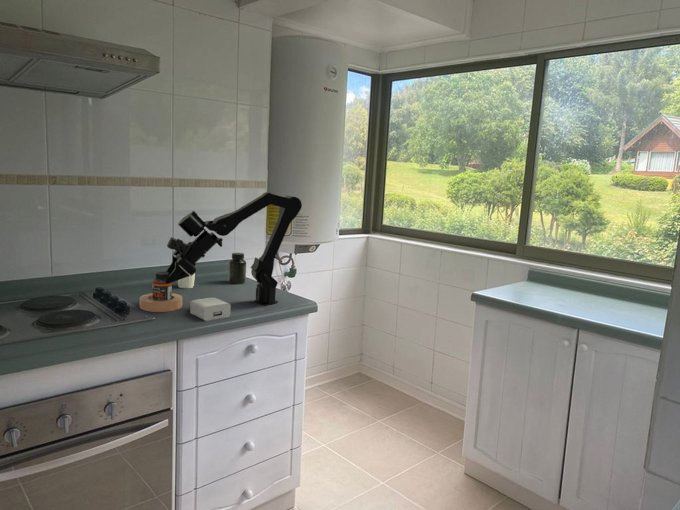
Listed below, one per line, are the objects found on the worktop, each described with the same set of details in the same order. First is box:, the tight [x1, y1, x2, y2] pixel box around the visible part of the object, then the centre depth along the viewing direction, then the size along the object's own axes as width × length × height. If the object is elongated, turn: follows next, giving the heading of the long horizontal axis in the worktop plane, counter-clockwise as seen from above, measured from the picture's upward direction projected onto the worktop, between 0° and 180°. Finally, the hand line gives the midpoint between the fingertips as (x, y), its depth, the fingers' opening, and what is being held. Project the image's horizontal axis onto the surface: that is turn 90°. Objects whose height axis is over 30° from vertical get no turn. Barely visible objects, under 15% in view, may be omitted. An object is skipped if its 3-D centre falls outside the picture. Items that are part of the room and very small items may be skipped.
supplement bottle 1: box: [152, 271, 173, 301], centre depth 169 cm, size 6×6×11 cm
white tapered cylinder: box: [177, 272, 196, 289], centre depth 198 cm, size 7×7×7 cm
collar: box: [139, 292, 183, 313], centre depth 170 cm, size 13×13×3 cm
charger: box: [189, 296, 232, 322], centre depth 165 cm, size 5×9×15 cm
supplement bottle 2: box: [228, 252, 247, 285], centre depth 210 cm, size 7×7×12 cm
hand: (165, 279), depth 169 cm, fingers open, 9 cm apart
